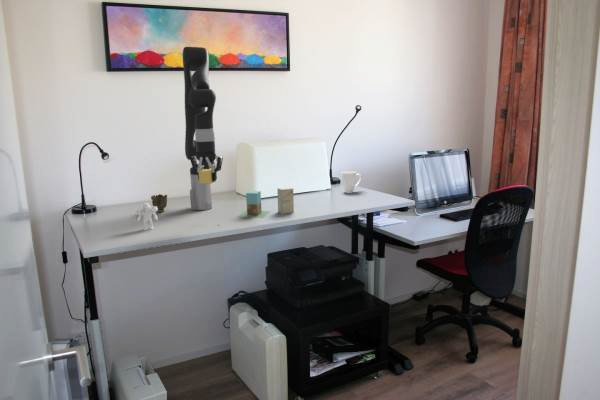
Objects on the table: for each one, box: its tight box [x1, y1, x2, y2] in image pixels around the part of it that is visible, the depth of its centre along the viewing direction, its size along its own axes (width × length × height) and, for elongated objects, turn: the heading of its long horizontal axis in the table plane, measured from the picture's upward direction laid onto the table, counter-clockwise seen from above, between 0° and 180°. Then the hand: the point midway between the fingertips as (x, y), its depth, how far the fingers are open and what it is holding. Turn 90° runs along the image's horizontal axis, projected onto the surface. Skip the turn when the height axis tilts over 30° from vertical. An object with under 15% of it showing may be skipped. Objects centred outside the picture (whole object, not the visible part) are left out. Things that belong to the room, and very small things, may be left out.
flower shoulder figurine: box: [134, 200, 159, 231], centre depth 195 cm, size 9×4×12 cm, turn 112°
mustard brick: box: [199, 168, 217, 184], centre depth 194 cm, size 5×5×5 cm
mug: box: [340, 170, 362, 194], centre depth 259 cm, size 12×8×11 cm
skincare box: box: [277, 186, 295, 215], centre depth 214 cm, size 6×4×12 cm
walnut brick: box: [246, 201, 263, 215], centre depth 212 cm, size 5×5×5 cm
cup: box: [150, 193, 168, 213], centre depth 225 cm, size 8×7×8 cm
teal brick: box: [245, 190, 262, 205], centre depth 211 cm, size 5×5×5 cm
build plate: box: [237, 209, 272, 219], centre depth 212 cm, size 12×12×1 cm
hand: (207, 181), depth 195 cm, fingers closed on mustard brick, 5 cm apart
